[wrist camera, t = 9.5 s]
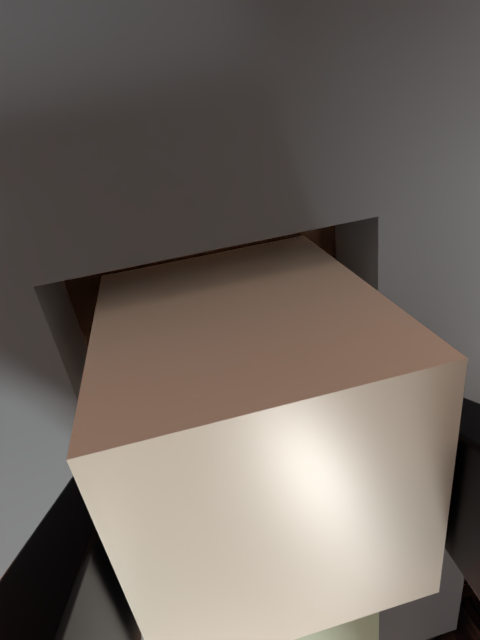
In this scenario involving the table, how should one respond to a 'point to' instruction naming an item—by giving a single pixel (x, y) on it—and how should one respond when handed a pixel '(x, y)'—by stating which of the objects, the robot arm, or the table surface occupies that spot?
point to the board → (227, 187)
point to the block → (264, 444)
